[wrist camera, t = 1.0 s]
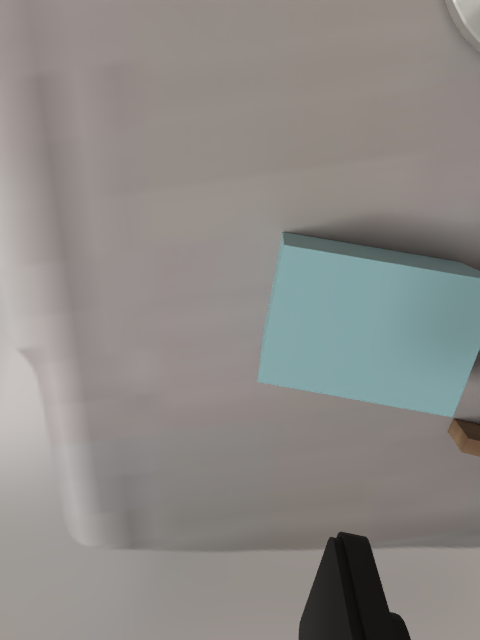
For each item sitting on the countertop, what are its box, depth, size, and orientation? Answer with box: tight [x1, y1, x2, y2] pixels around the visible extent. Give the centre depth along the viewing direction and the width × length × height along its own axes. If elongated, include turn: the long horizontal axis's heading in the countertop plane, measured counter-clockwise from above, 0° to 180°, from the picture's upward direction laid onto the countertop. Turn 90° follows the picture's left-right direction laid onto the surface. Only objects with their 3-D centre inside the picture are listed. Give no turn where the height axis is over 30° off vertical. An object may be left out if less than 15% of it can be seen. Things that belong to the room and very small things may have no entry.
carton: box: [258, 232, 480, 417], centre depth 26 cm, size 8×12×6 cm
